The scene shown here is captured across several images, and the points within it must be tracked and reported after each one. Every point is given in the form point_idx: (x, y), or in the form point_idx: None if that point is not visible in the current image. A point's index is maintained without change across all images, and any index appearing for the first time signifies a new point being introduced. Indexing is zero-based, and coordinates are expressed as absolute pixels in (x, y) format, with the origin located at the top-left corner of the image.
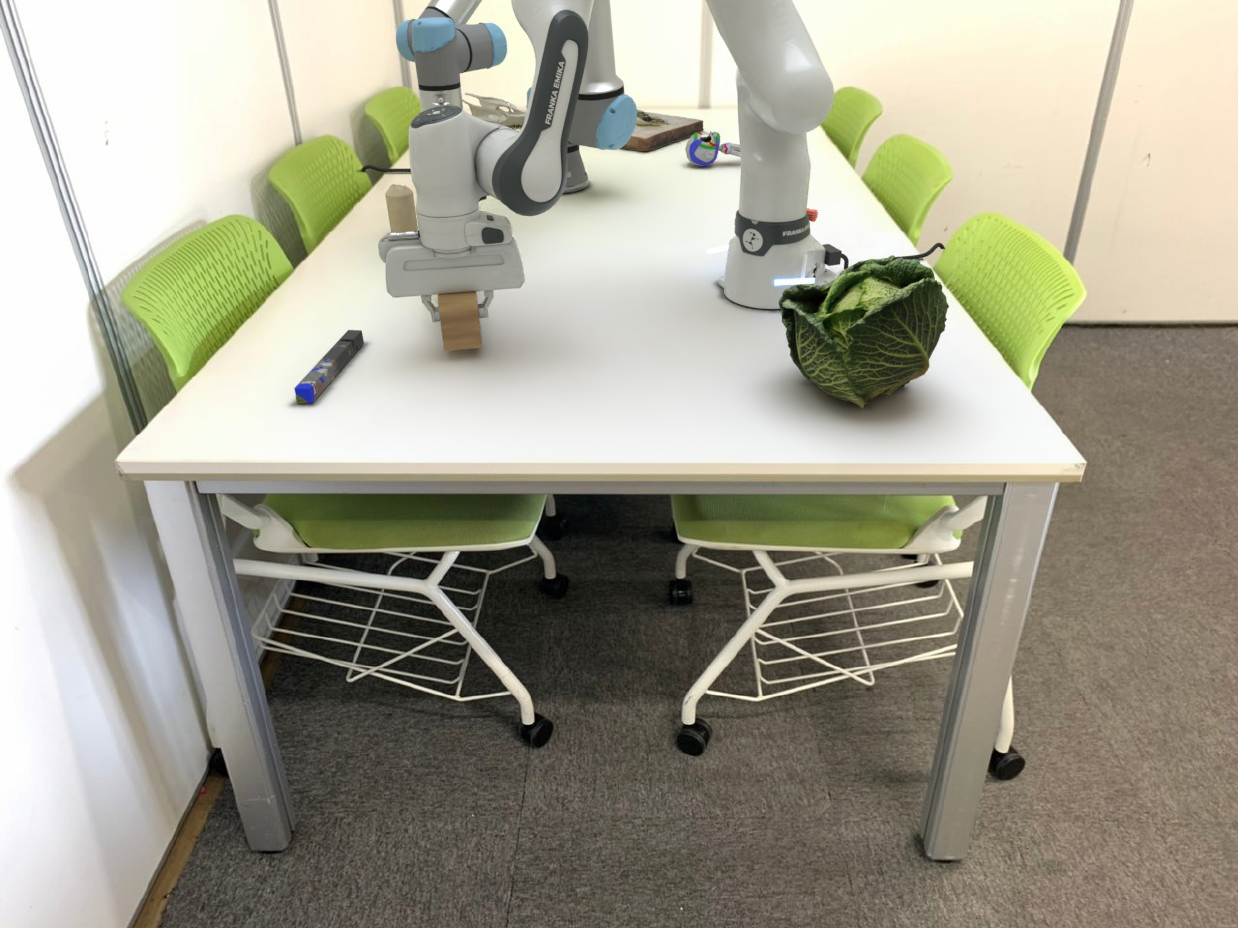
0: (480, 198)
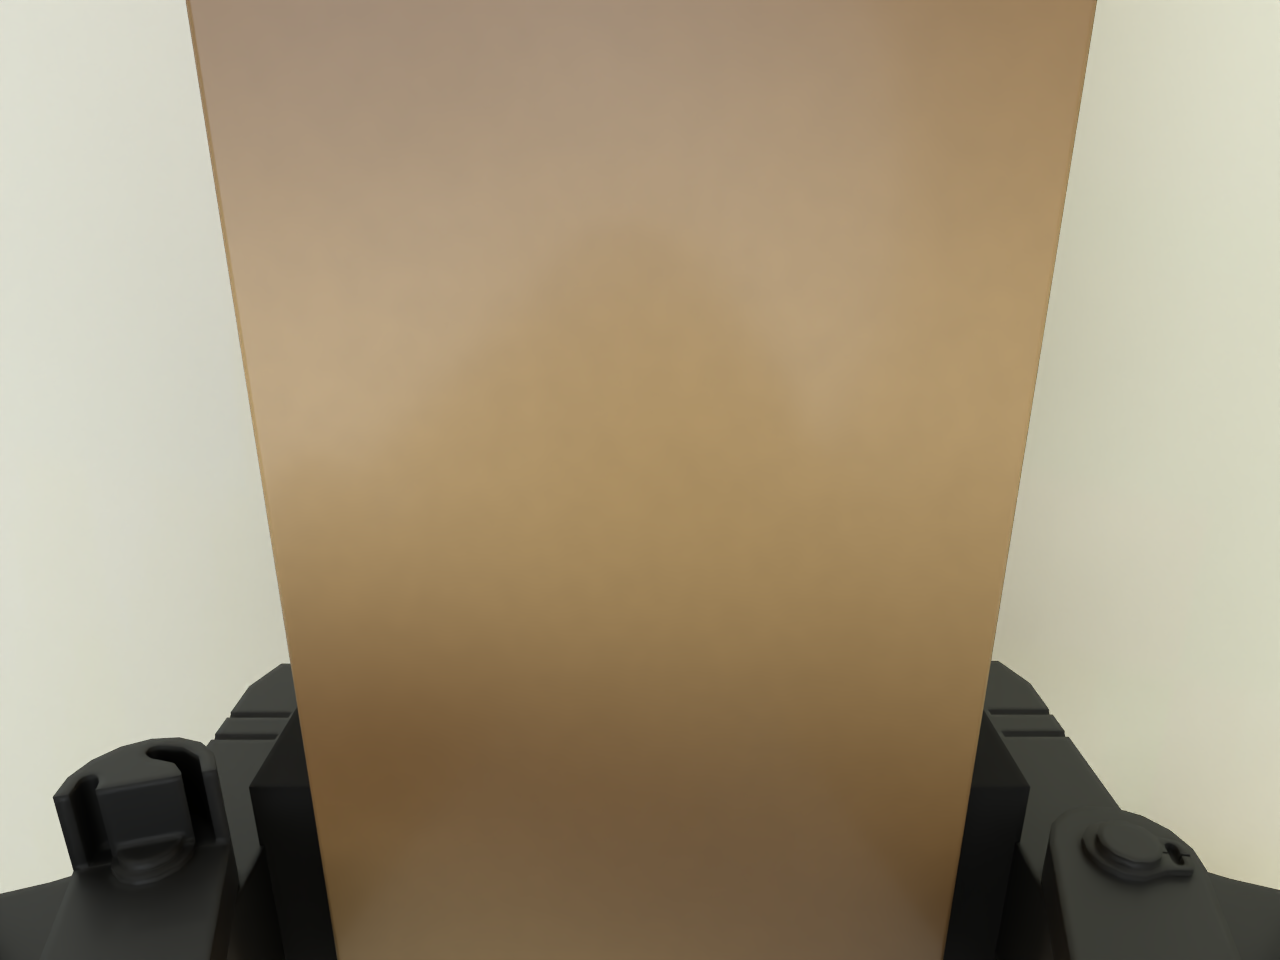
0: (6, 925)
